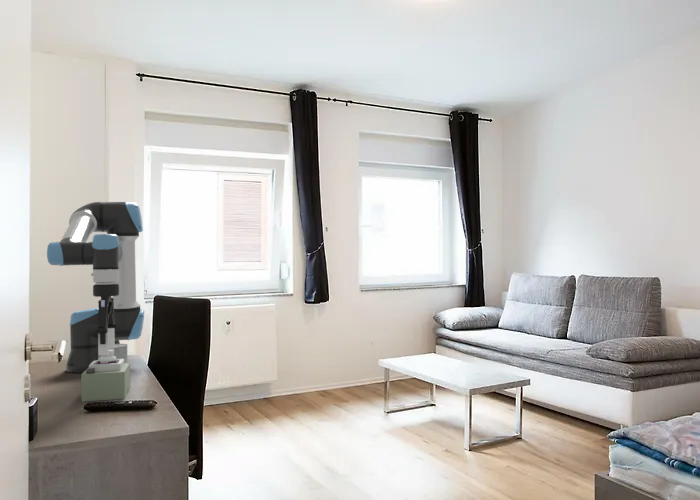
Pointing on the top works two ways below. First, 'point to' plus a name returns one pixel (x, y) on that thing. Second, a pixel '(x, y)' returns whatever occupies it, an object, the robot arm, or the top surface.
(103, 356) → the pill bottle
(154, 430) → the top surface
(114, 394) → the green open box
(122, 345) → the speckled grey cylinder
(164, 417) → the top surface
